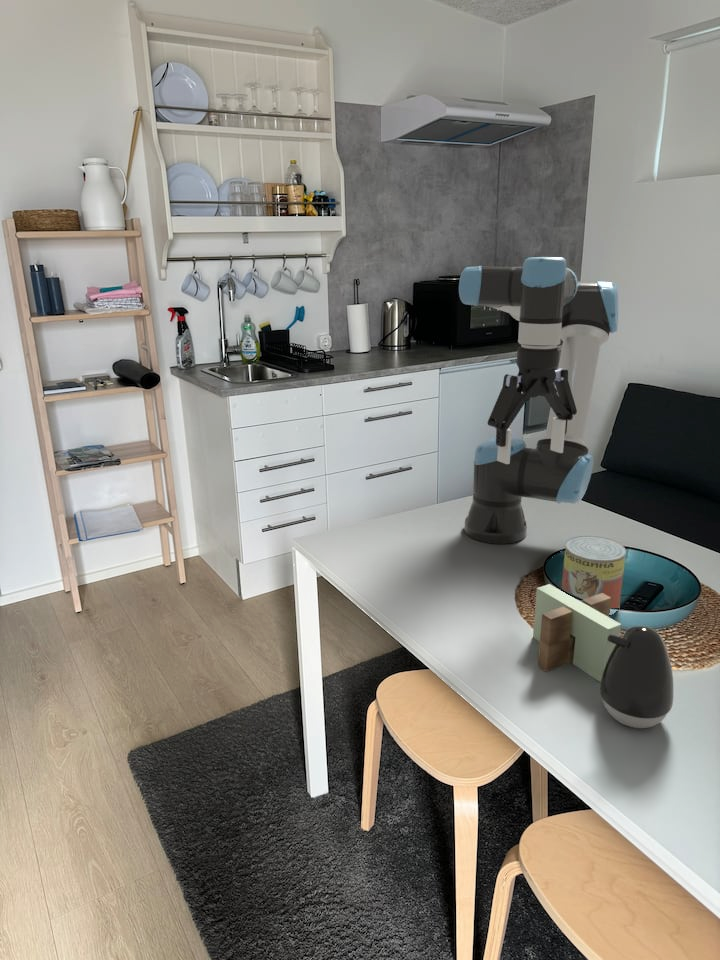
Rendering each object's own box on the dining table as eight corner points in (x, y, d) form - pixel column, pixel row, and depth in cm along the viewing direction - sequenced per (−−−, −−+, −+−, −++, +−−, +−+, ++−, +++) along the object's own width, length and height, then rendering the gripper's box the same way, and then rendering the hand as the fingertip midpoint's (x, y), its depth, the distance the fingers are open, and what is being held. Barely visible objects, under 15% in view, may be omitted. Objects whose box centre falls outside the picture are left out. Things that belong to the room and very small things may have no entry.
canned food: (551, 606, 136) (556, 551, 132) (570, 584, 145) (575, 531, 141) (610, 623, 130) (617, 565, 126) (626, 598, 139) (633, 544, 135)
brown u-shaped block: (596, 642, 124) (602, 592, 120) (605, 648, 122) (611, 597, 119) (537, 665, 117) (542, 613, 114) (546, 671, 116) (550, 619, 112)
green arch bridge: (545, 632, 127) (549, 584, 124) (614, 677, 114) (621, 624, 111) (532, 637, 126) (536, 588, 122) (601, 683, 113) (608, 629, 109)
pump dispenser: (585, 697, 109) (594, 612, 104) (648, 693, 110) (661, 608, 105) (612, 741, 99) (625, 650, 94) (682, 736, 100) (698, 645, 95)
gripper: (572, 338, 135) (563, 442, 142) (471, 348, 124) (466, 461, 131) (602, 342, 129) (591, 451, 136) (499, 354, 118) (492, 472, 125)
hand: (530, 456), depth 133 cm, fingers open, 13 cm apart
